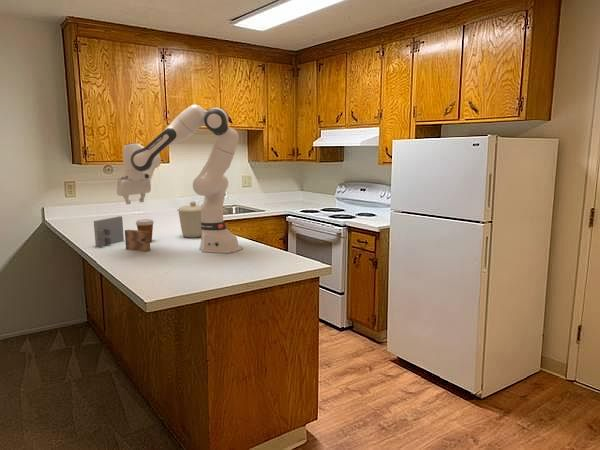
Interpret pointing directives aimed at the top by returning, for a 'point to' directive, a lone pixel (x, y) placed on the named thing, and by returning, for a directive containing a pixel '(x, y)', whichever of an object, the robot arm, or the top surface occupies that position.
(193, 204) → the canister
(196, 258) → the top surface
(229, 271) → the top surface
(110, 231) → the cabinet side
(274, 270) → the top surface
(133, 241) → the walnut door
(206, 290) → the top surface
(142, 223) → the disposable coffee cup
